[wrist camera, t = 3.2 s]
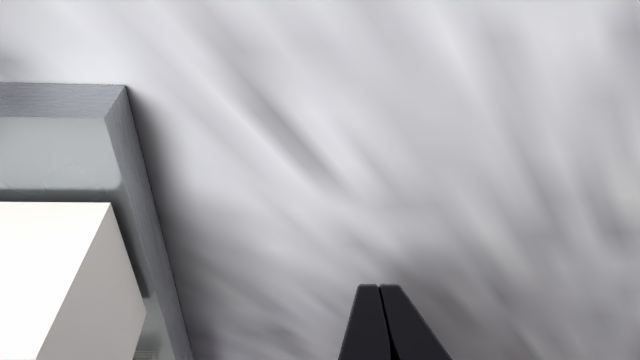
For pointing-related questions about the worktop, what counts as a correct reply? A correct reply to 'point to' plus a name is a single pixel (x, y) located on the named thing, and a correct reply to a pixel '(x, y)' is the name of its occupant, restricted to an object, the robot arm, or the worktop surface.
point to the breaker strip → (93, 185)
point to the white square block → (66, 284)
